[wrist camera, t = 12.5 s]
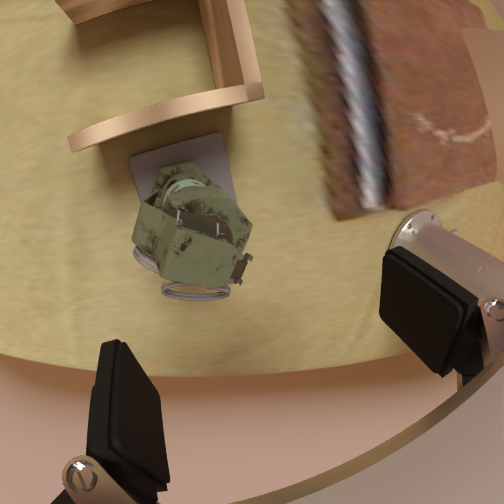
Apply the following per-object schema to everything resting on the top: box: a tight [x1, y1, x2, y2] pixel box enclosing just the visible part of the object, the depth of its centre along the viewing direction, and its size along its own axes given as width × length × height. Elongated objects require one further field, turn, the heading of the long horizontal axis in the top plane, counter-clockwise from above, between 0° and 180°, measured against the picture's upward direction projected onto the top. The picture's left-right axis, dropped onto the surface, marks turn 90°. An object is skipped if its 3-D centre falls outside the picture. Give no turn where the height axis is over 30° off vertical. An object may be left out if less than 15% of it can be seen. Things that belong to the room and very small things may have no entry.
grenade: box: [132, 159, 253, 301], centre depth 20 cm, size 7×7×15 cm
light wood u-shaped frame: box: [55, 0, 265, 153], centre depth 17 cm, size 13×14×9 cm
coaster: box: [128, 132, 237, 208], centre depth 27 cm, size 9×9×1 cm
